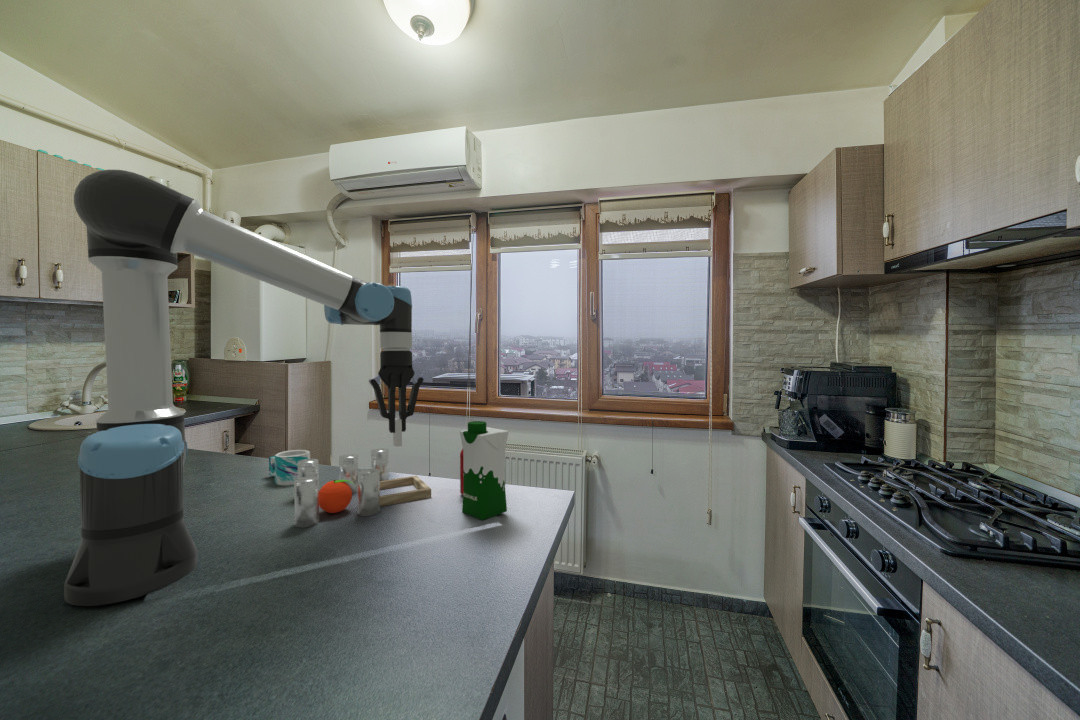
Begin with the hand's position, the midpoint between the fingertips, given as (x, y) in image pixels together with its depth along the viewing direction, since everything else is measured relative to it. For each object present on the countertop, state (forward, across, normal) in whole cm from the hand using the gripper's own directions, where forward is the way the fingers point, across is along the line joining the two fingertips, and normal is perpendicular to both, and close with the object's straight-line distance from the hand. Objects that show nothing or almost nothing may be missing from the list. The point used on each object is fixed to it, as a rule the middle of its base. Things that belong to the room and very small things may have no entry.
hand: (397, 445), depth 106 cm
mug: (+12, +23, -25) cm, 36 cm away
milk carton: (+13, -14, +22) cm, 29 cm away
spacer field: (+12, +13, 0) cm, 18 cm away
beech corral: (+12, 0, 0) cm, 12 cm away
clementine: (+12, +14, +5) cm, 19 cm away
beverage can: (+13, -16, +10) cm, 22 cm away
